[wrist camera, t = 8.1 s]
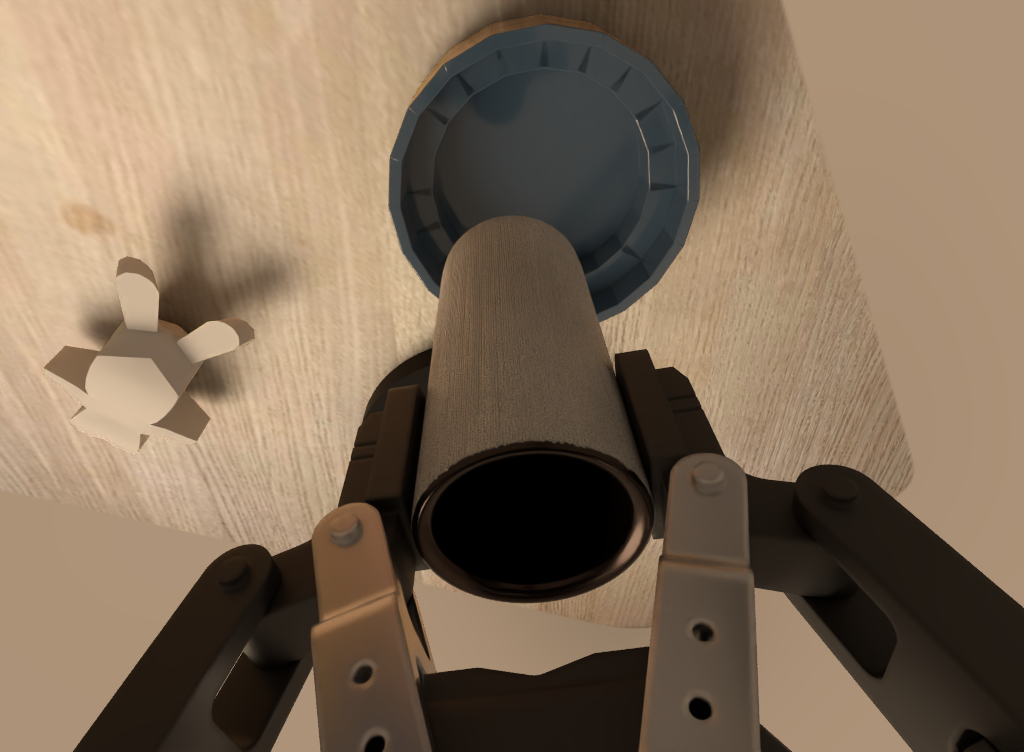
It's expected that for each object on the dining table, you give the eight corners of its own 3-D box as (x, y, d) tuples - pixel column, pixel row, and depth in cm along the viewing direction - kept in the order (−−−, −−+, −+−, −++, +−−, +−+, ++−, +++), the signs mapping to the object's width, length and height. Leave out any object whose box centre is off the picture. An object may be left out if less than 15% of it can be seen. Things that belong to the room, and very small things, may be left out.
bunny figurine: (11, 425, 37) (75, 270, 29) (61, 372, 41) (130, 223, 33) (161, 490, 41) (253, 369, 33) (194, 436, 45) (283, 316, 37)
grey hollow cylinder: (417, 246, 18) (362, 493, 10) (553, 189, 18) (616, 408, 9) (477, 357, 21) (473, 627, 13) (599, 312, 20) (681, 570, 12)
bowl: (364, 48, 29) (344, 63, 25) (671, -15, 28) (703, -9, 24) (438, 311, 38) (432, 354, 34) (674, 271, 37) (697, 311, 33)
